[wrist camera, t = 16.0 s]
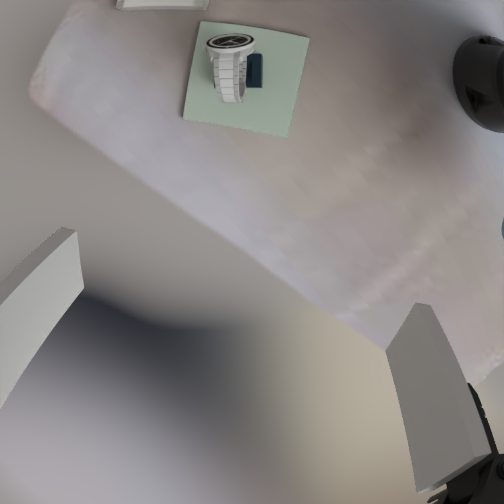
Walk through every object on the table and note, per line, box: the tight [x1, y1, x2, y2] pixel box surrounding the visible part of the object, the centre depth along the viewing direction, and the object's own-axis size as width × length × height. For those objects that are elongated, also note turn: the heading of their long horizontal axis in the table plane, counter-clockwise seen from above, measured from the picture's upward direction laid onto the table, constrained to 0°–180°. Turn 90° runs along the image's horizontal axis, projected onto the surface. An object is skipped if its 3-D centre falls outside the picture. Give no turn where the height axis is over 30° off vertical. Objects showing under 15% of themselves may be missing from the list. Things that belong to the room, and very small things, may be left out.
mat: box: [183, 21, 310, 138], centre depth 35 cm, size 14×14×1 cm
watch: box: [202, 33, 263, 103], centre depth 29 cm, size 6×8×11 cm
